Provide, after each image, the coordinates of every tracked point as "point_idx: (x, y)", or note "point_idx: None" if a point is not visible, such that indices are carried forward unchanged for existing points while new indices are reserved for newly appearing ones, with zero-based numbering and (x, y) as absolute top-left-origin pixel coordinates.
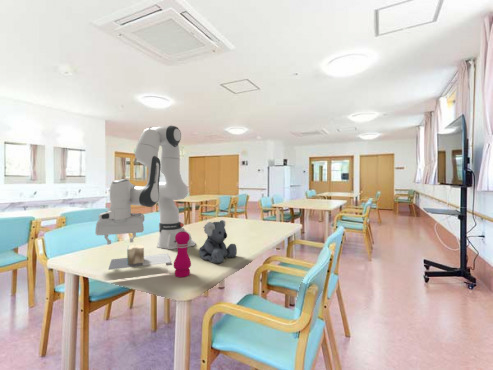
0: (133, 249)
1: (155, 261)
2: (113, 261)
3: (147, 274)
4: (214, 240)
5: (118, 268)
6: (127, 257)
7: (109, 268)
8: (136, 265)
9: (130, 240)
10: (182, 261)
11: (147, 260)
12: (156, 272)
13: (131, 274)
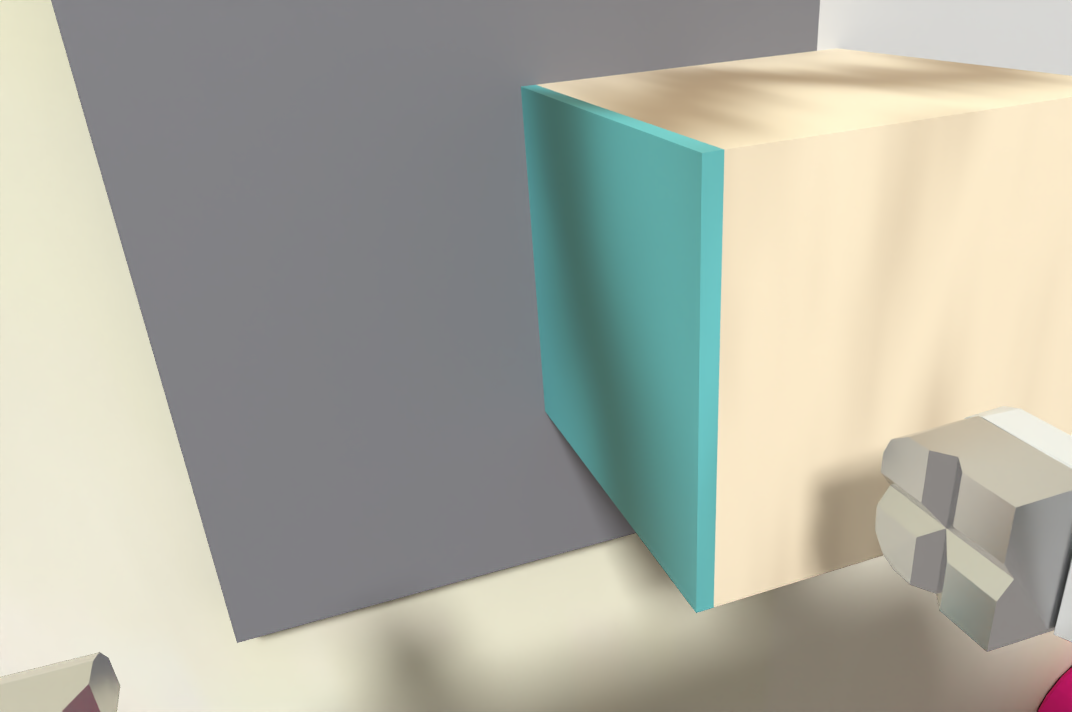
0: (829, 560)
1: None
2: (161, 120)
3: (800, 701)
4: None
5: (415, 590)
6: (602, 487)
7: (240, 588)
8: None
9: (956, 602)
10: None
11: None
12: (897, 645)
13: (620, 703)
